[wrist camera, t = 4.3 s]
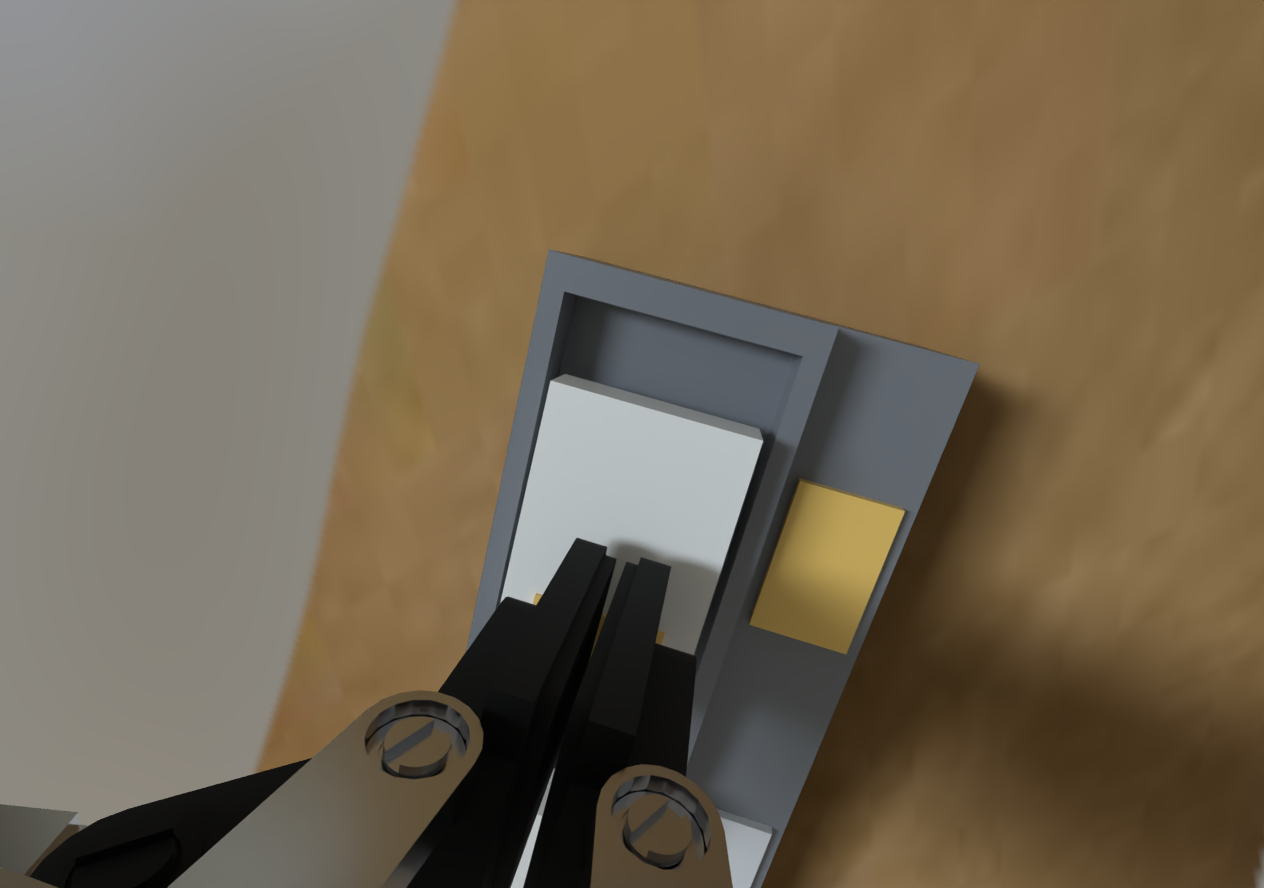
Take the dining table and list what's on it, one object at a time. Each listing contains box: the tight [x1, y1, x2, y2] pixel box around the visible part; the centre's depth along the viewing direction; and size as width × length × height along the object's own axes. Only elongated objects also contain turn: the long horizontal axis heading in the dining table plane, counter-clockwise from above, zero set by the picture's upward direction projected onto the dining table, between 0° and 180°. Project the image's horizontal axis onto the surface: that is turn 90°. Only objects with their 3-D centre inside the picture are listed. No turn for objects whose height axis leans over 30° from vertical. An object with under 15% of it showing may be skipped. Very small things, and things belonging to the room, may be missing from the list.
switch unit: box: [466, 249, 980, 888], centre depth 15 cm, size 25×8×4 cm, turn 166°
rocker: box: [500, 374, 763, 661], centre depth 11 cm, size 5×4×1 cm
